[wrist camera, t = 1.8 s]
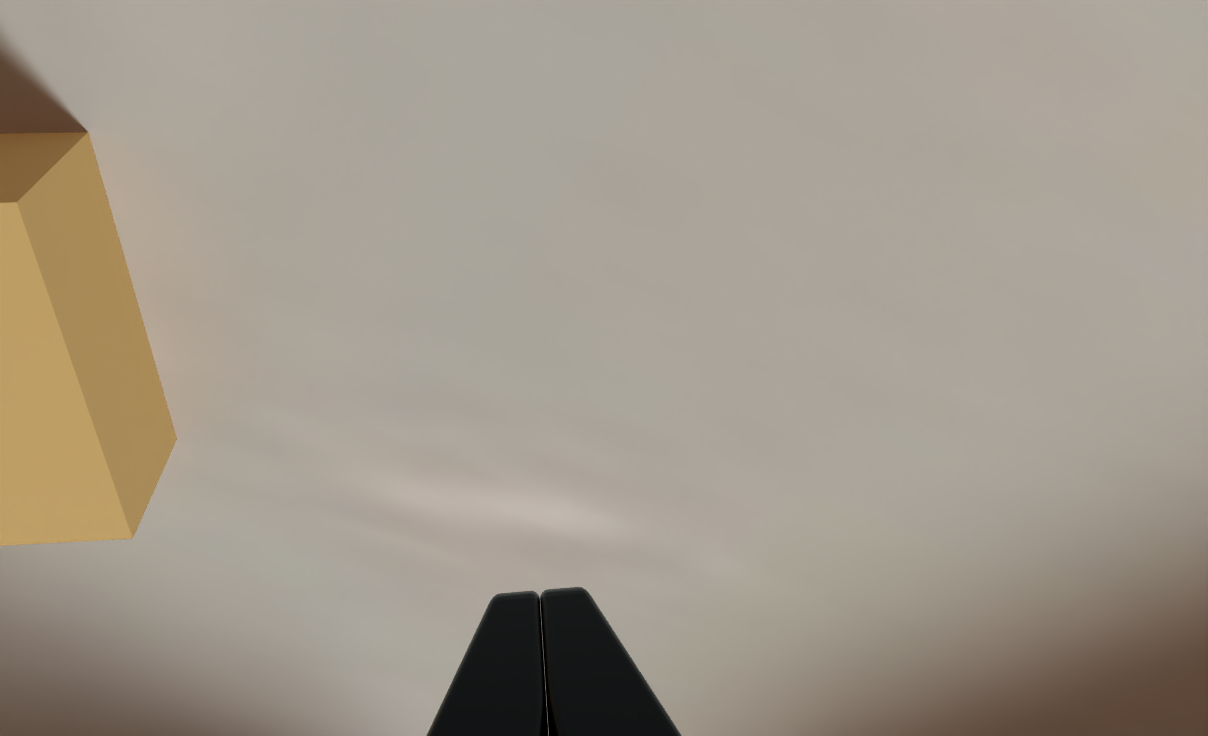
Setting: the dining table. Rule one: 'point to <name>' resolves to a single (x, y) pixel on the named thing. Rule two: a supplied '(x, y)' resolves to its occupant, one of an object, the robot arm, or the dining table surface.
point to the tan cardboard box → (71, 354)
